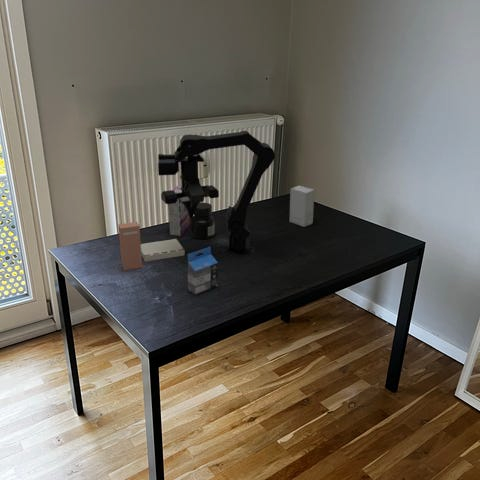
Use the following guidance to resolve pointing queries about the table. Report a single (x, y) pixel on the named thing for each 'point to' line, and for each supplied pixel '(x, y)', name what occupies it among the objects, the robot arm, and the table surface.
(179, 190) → the candy bar box
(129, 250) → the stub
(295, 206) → the skincare box
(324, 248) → the table surface
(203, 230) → the ink bottle
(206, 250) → the label tape cartridge
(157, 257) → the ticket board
